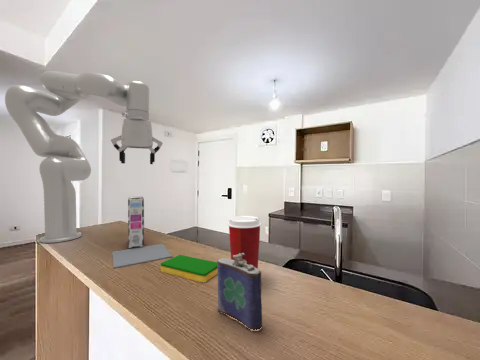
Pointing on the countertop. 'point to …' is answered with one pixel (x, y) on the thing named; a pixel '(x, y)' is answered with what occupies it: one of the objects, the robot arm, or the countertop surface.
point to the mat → (139, 255)
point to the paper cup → (245, 238)
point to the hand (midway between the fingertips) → (137, 163)
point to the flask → (240, 291)
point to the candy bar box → (135, 222)
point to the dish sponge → (190, 268)
